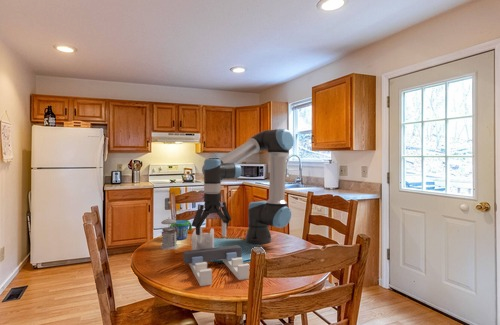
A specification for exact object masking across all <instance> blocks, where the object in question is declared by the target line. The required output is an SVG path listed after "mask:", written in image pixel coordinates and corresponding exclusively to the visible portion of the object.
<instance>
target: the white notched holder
mask: <svg viewBox="0 0 500 325" xmlns="http://www.w3.org/2000/svg"><path fill="white" fill-rule="evenodd" d="M222 260H223V261H222ZM222 260H221V261H222V262H223V264H225V266H227V268H228V269H229V270H230V272H231V273H232V274H233V275H234V276H235V278H236V279H237V280H239V281H243V280H247V279H248V280H249V269H250V270H251V268H250V264H249V263H248V262H247V263H244V258H243V257H242V256H241V257H237V253H236V252H231V253H226V259H222ZM188 265H189V267H190V269H191V271H192V273H193V275H194V277H195V279H196V280H197V283H198V284H199V286H200V287H205V286H211V285H213V270H212V268H208V261H206V262H203V257H202V256H198V257H192V263H190V264H188Z"/></svg>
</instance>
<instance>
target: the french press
mask: <svg viewBox="0 0 500 325" xmlns="http://www.w3.org/2000/svg"><path fill="white" fill-rule="evenodd" d="M166 204H168V205H170V204H172V203H171V201H167V202H166ZM176 221H177V220H175V219H173V218H166V219H163V220H162V221H161V224H162V225H171V224H174V223H176ZM174 227H175V225H174ZM174 227H172V228H170V227H164V228H162V229H161V230H162V231H161V245H160V246H159V249H161V250H166V251H167V250H174V249H177V248H178V247H179V245H178V244H177V239H176V238H177V237H176V231H174V230H176V229H175V228H174ZM176 228H177V227H176ZM173 233H174V234H173ZM177 236H178V229H177Z"/></svg>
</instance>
